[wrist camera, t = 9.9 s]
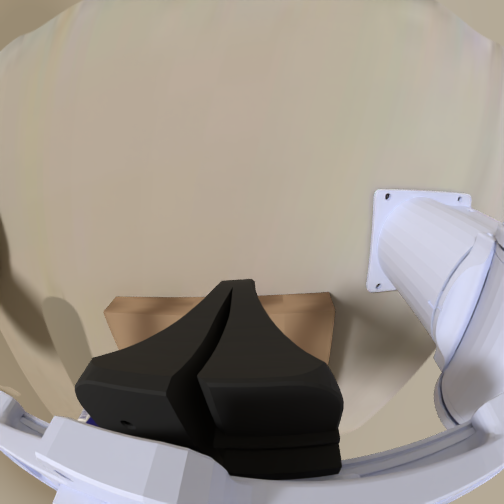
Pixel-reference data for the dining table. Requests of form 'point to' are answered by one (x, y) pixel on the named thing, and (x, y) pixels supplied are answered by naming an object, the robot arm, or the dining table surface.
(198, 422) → the robot arm
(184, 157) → the dining table surface
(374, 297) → the dining table surface
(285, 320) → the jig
